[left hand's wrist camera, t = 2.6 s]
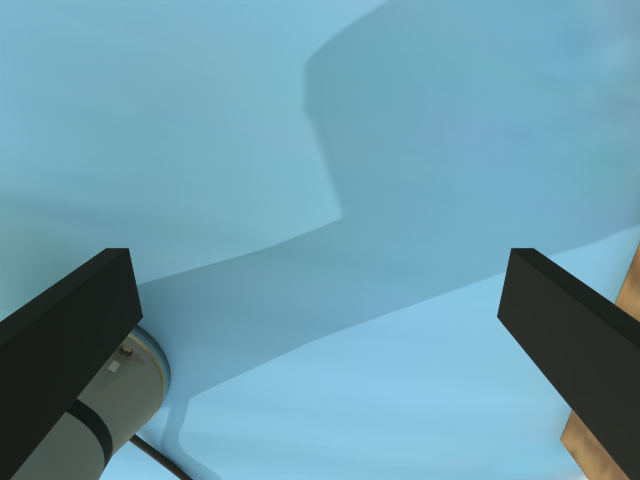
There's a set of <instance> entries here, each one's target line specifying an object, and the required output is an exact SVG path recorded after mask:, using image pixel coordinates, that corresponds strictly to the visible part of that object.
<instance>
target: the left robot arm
mask: <svg viewBox="0 0 640 480" xmlns="http://www.w3.org/2000/svg"><path fill="white" fill-rule="evenodd" d="M142 318H143V315H142V310H141V305H140V300H139V296H138V291H137V286H136V281H135V276H134V272H133V267H132V262H131V257H130V253H129V248H106V249H104V250H103V251H102V252H100V253H99V254H97V255H96V256H94V257H93V258H92V259H90V260H89V261H87V262H86V263H84V264H83V265H81V266H80V267H79V268H77V269H76V270H74V271H73V272H71V273H70V274H69V275H67V276H66V277H64V278H63V279H61V280H60V281H58V282H57V283H56V284H54V285H53V286H51V287H50V288H48V289H47V290H46V291H44V292H43V293H41V294H40V295H38V296H37V297H35V298H34V299H33V300H31V301H30V302H28V303H27V304H25V305H24V306H23V307H21V308H20V309H18V310H17V311H15V312H14V313H12V314H11V315H10V316H8V317H7V318H5V319H4V320H2V321H1V322H0V480H99V478H100V476H101V474H102V472H103V471H104V469H105V467H106V466H107V464H108V462H109V461H110V459H111V457H112V456H113V455H114V454H115V453H116V452H117V451H118V450H119V449H120V448H121V447H122V446H123V445H124V444H125V443H126V442H127V441H128V440H129V441H130V442H132V443H133V444H134V445H136V446H137V447H138V448H140V449H141V450H143V451H144V452H146V453H147V454H148V455H150V456H151V457H152V458H154V459H155V460H156V461H158V462H159V463H160V464H161V465H163V466H164V467H165V468H167V469H168V470H169V471H171V472H172V473H173V474H174V475H176V476H177V477H178V478H179V479H180V480H192V479H191V478H190V477H189V476H188V475H187V474H186V473H185V472H183V471H182V470H181V469H180V468H178V467H177V466H176V465H175V464H173V463H172V462H171V461H170V460H168V459H167V458H166V457H164V456H163V455H162V454H161V453H159V452H158V451H157V450H156V449H154V448H153V447H152V446H150V445H149V444H147V443H146V442H145V441H143V440H142V439H141V438H139V437H138V436H137V435H136V434H135V433H136V432H137V431H138V430H139V429H140V428H141V427H142V426H143V425H145V424H146V423H147V422H148V421H149V420H151V419H152V418H153V417H154V415H155V414H156V413H157V411H158V410H159V408H160V406H161V404H162V402H163V400H164V398H165V396H166V394H167V392H168V389H169V384H170V372H169V367H168V364H167V361H166V358H165V356H164V354H163V353H162V351H161V349H160V348H159V347H158V345H157V344H156V343H155V342H154V340H153V339H152V338H151V337H150V336H149V335H147V334H146V333H145V332H144V331H143V330H141V329H140V328H138V327H137V326H136V325H137V324H138V322H139V321H140V320H141V319H142ZM497 318H498V319H499V320H500V321H501V322H502V324H503V325H504V326H505V327H506V329H507V330H508V331H509V332H510V333H511V335H512V336H513V337H514V338H515V340H516V341H517V342H518V343H519V345H520V346H521V347H522V348H523V349H524V351H525V352H526V353H527V354H528V356H529V357H530V358H531V359H532V360H533V362H534V363H535V364H536V365H537V367H538V368H539V369H540V370H541V372H542V373H543V374H544V375H545V376H546V378H547V379H548V380H549V381H550V383H551V384H552V385H553V386H554V387H555V389H556V390H557V391H558V392H559V394H560V395H561V396H562V397H563V399H564V400H565V401H566V402H567V403H568V405H569V406H570V407H571V408H572V410H573V411H574V412H575V413H576V414H577V416H578V417H579V418H580V419H581V421H582V422H583V423H584V424H585V426H586V427H587V428H588V429H589V430H590V432H591V433H592V434H593V435H594V437H595V438H596V439H597V440H598V442H599V443H600V444H601V445H602V446H603V448H604V449H605V450H606V451H607V453H608V454H609V455H610V456H611V457H612V459H613V460H614V461H615V462H616V464H617V465H618V466H619V467H620V469H621V470H622V471H623V472H624V473H625V475H626V476H627V477H628V478H629V480H640V322H639V321H638V320H636V319H635V318H633V317H632V316H630V315H629V314H628V313H626V312H625V311H623V310H622V309H620V308H619V307H617V306H616V305H615V304H613V303H612V302H610V301H609V300H607V299H606V298H605V297H603V296H602V295H600V294H599V293H597V292H596V291H594V290H593V289H592V288H590V287H589V286H587V285H586V284H584V283H583V282H582V281H580V280H579V279H577V278H576V277H574V276H573V275H571V274H570V273H569V272H567V271H566V270H564V269H563V268H561V267H560V266H559V265H557V264H556V263H554V262H553V261H551V260H550V259H548V258H547V257H546V256H544V255H543V254H541V253H540V252H538V251H537V250H536V249H534V248H511V253H510V257H509V262H508V267H507V272H506V276H505V281H504V286H503V291H502V296H501V300H500V305H499V310H498V315H497Z"/></svg>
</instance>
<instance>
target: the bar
mask: <svg viewBox="0 0 640 480" xmlns="http://www.w3.org/2000/svg"><path fill="white" fill-rule="evenodd" d="M615 305H616V306H617V307H619V308H620V309H622V310H623V311H625V312H626V313H628V314H629V315H630V316H632V317H633V318H635V319H636V320H638V321H639V322H640V244H639V246H638V249H637V251H636V254H635V256H634V259H633V261H632V264H631V266H630V269H629V271H628V274H627V276H626V279H625V281H624V284H623V286H622V289H621V291H620V294H619V296H618V299H617V301H616V304H615ZM561 442H562V443H563V445H564V446H565V447H566V449H567V450H568V452H569V453H570V454H571V456H572V457H573V459H574V460H575V461H576V463H577V464H578V465H579V467H580V468H581V470H582V471H583V472H584V474H585V475H586V477H587V478H588V479H589V480H629V478H628V477H627V476H626V475H625V473H624V472H623V471H622V470H621V469H620V467H619V466H618V465H617V464H616V462H615V461H614V460H613V459H612V457H611V456H610V455H609V454H608V453H607V451H606V450H605V449H604V448H603V446H602V445H601V444H600V443H599V442H598V440H597V439H596V438H595V437H594V435H593V434H592V433H591V432H590V430H589V429H588V428H587V427H586V426H585V424H584V423H583V422H582V421H581V419H580V418H579V417H578V416H577V414H576V413H575V412H574V411H573V410H572V413H571V415H570V418H569V420H568V423H567V425H566V428H565V430H564V433H563V435H562V438H561Z"/></svg>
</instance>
